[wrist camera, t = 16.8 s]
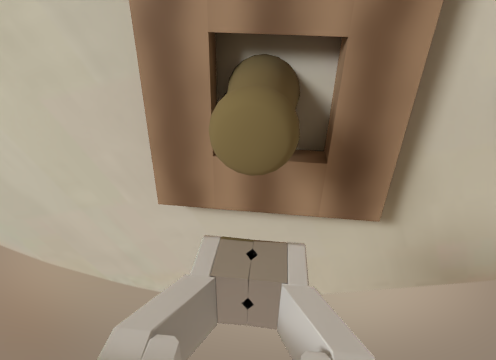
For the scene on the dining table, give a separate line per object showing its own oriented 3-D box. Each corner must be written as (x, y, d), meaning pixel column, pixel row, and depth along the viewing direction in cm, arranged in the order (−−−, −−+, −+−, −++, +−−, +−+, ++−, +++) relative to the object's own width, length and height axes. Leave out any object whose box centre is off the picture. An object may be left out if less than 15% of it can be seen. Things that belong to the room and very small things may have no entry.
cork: (292, 42, 24) (297, 71, 15) (306, 117, 27) (318, 181, 17) (218, 63, 25) (178, 101, 16) (238, 132, 28) (215, 199, 19)
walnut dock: (439, -55, 20) (461, -63, 18) (371, 202, 30) (379, 221, 28) (139, -59, 22) (119, -67, 19) (168, 187, 32) (158, 204, 29)
